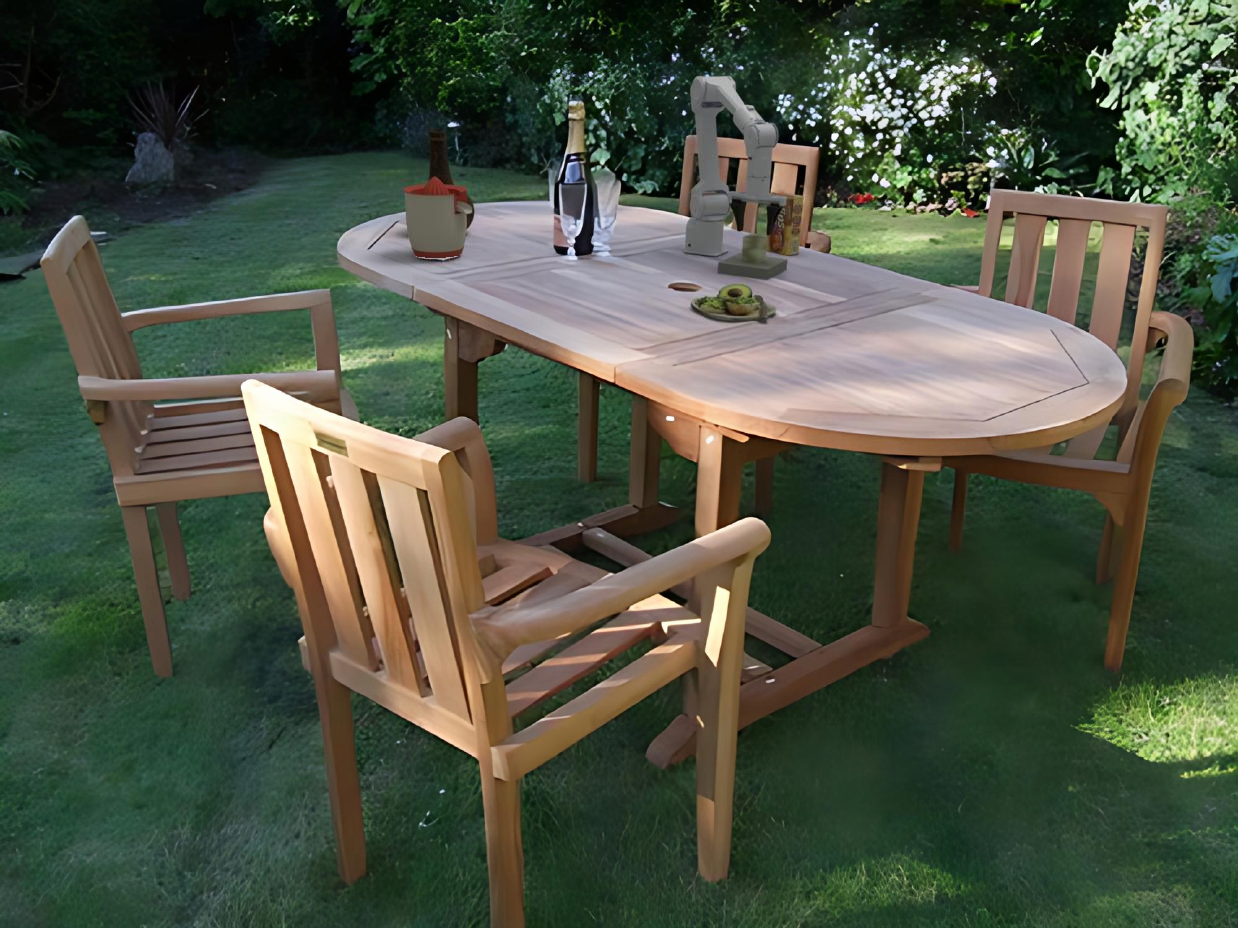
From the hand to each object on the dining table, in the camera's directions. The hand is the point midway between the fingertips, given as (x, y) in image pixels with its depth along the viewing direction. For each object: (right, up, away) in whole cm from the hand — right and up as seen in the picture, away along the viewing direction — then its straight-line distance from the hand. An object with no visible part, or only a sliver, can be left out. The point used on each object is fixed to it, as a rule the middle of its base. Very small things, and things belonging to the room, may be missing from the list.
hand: (754, 232), depth 272 cm
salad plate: (-8, -24, -31) cm, 40 cm away
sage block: (0, -6, +2) cm, 7 cm away
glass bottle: (-82, +7, +37) cm, 91 cm away
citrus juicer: (-78, -4, +11) cm, 79 cm away
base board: (0, -9, +3) cm, 9 cm away
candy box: (+10, 0, +24) cm, 26 cm away
